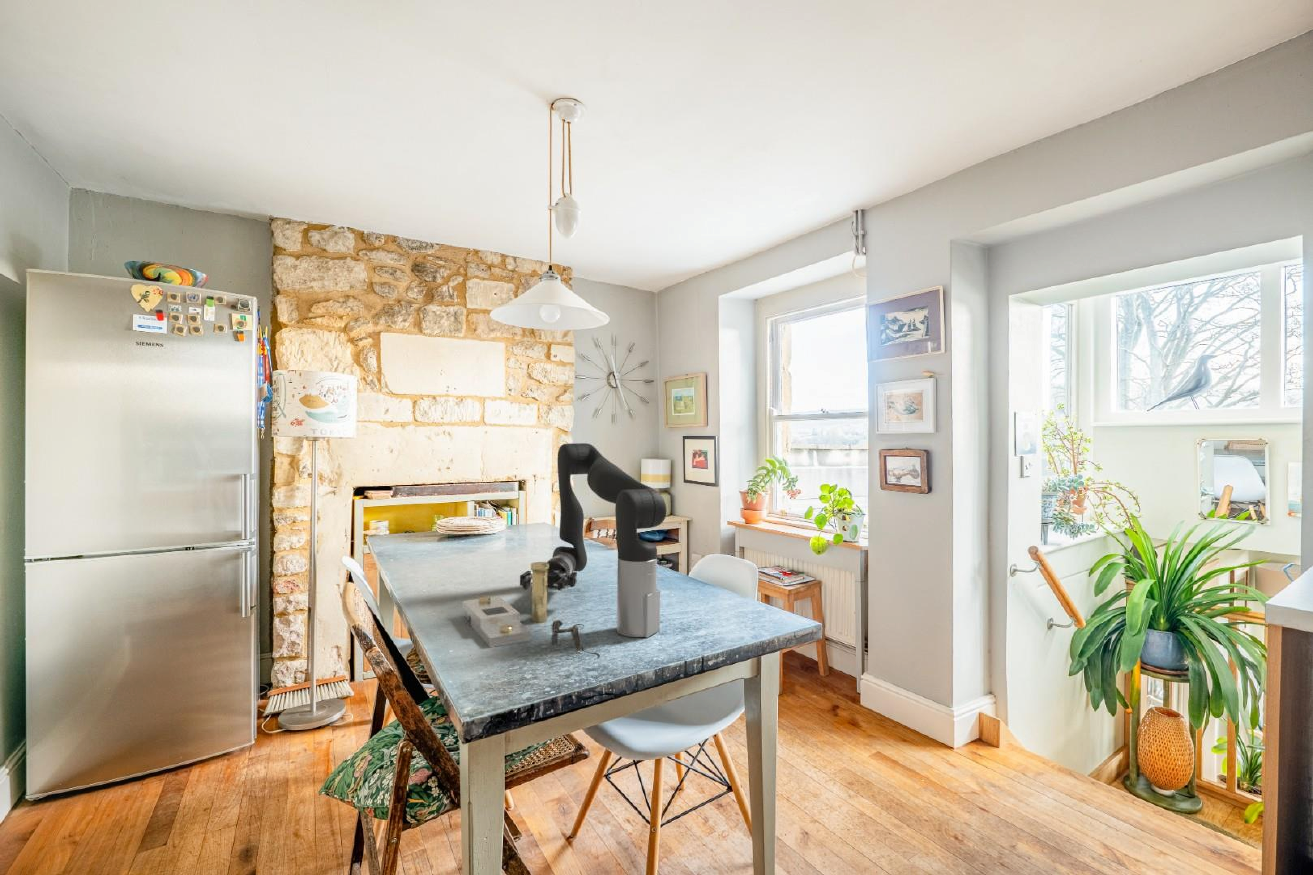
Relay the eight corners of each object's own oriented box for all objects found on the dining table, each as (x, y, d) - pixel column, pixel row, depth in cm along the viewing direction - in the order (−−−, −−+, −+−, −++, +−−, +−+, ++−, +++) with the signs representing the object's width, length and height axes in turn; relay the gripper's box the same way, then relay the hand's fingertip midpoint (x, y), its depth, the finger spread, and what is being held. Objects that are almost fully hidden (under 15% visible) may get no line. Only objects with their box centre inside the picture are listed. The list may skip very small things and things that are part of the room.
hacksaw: (553, 625, 141) (553, 619, 141) (595, 623, 142) (595, 617, 142) (549, 664, 117) (549, 656, 117) (600, 661, 118) (600, 654, 118)
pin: (552, 619, 144) (552, 563, 144) (540, 624, 140) (541, 566, 140) (538, 616, 146) (538, 561, 146) (526, 621, 142) (527, 564, 142)
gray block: (530, 640, 129) (530, 618, 129) (490, 647, 124) (490, 625, 124) (498, 611, 149) (499, 593, 149) (463, 616, 145) (463, 597, 145)
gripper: (531, 556, 161) (514, 570, 145) (582, 558, 160) (570, 571, 144) (531, 583, 161) (513, 600, 145) (582, 585, 160) (570, 601, 144)
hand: (542, 585), depth 145 cm, fingers open, 8 cm apart
